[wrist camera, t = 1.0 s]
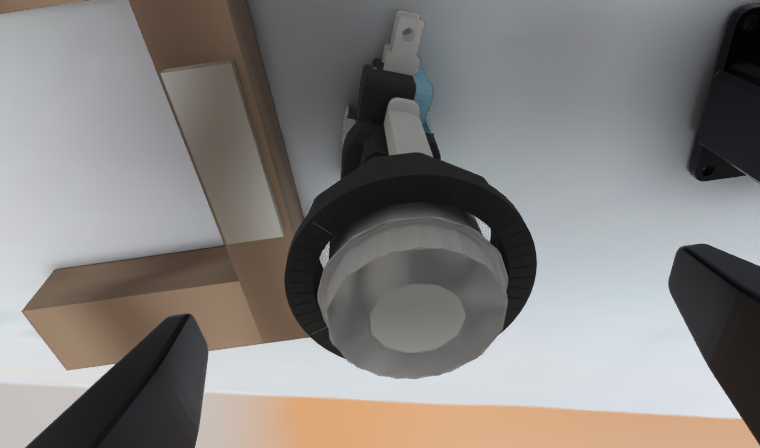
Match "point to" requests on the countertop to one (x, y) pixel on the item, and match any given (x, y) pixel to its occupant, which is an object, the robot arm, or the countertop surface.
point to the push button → (406, 238)
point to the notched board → (222, 190)
